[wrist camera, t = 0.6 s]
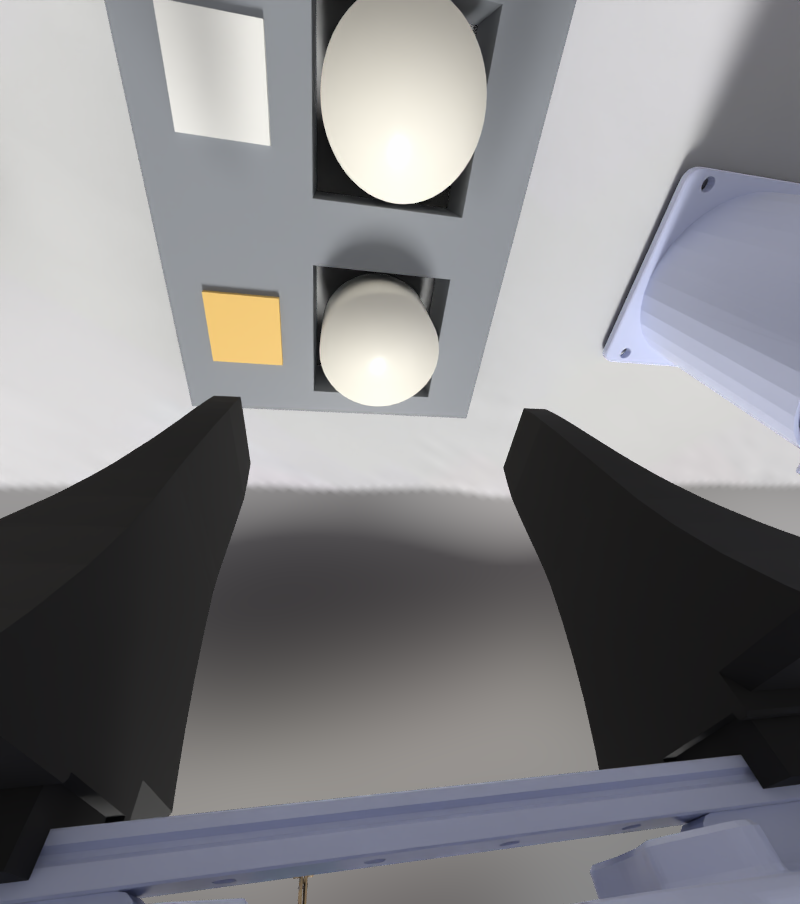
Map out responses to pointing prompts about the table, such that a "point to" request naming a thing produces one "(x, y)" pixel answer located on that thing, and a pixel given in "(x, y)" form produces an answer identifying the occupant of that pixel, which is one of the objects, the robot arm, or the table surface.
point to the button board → (314, 193)
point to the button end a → (377, 341)
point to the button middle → (403, 96)
